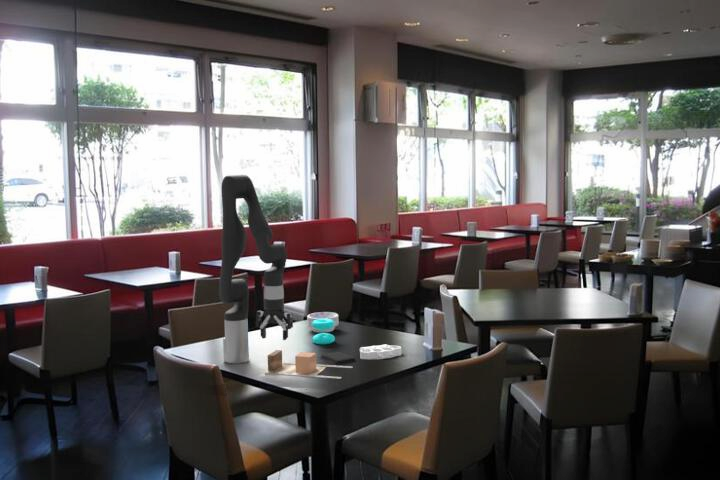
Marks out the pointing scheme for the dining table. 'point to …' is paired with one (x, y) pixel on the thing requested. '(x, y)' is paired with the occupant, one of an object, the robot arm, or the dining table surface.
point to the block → (305, 362)
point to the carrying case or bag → (338, 358)
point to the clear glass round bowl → (323, 316)
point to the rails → (312, 375)
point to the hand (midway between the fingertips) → (274, 338)
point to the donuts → (322, 325)
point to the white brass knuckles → (379, 352)
